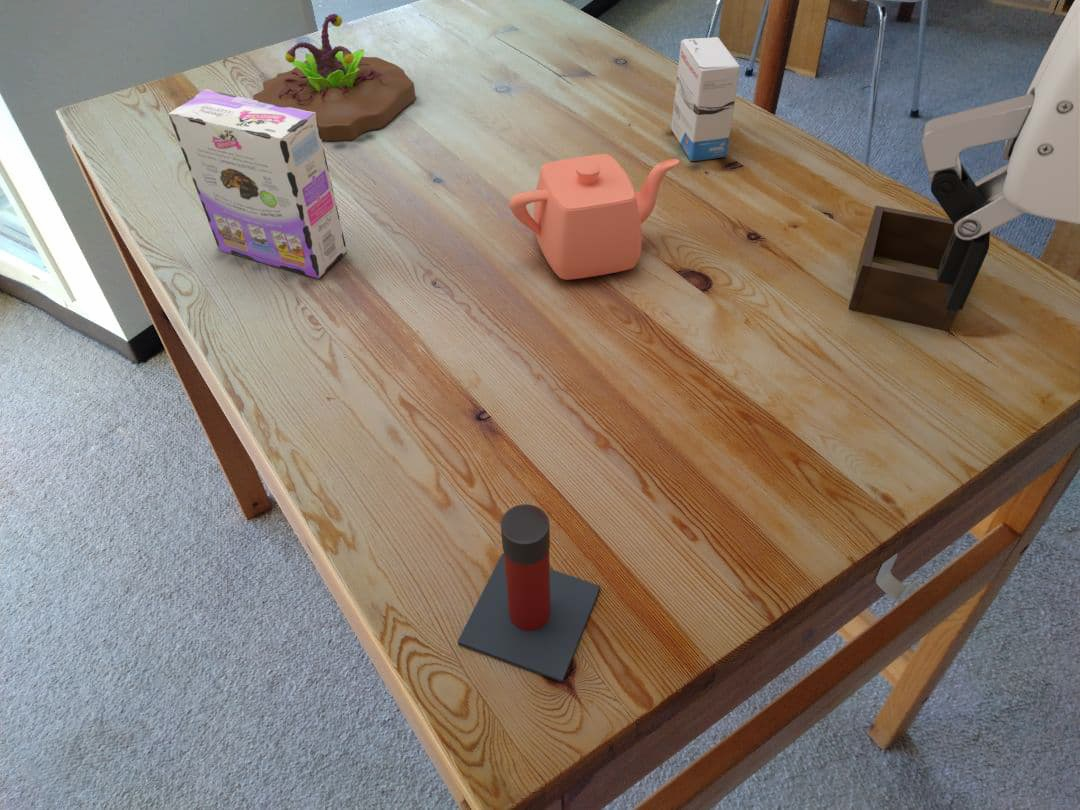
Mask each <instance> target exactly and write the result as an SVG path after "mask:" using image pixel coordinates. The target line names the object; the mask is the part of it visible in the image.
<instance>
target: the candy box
mask: <svg viewBox="0 0 1080 810" xmlns="http://www.w3.org/2000/svg"><path fill="white" fill-rule="evenodd" d="M168 117H169V119H170V122H171V124H172V128H173V131H174V132H175V137H176V138H177V140H178V141H177V142H178V144H179V146H180V149H181V151H182V154H183V157H184V160H185V162H186V165H187V168H188V171H189V173H190V176H191V179H192V182H193V185H194V187H195V189H196V192H197V195H198V198H199V200H200V203H201V205H202V208H203V210H204V213H205V216H206V218H207V222H208V224H209V227H210V230H211V232H212V235H213V237H214V238H213V239H214V241H215V244H216V247H217V249H218V250H219V251H221V252H223V253H227V254H230V255H234V256H239V257H241V258H244V259H247V260H251V261H256V262H259V263H262V264H265V265H269V266H273V267H277V268H280V269H283V270H287V271H289V272H290V271H291V272H295V273H298V274H301V275H304V276H308V277H312V278H315V279H320V278H321V277H322V276H323V275H324V274H325V273H326V272H327V271H328V270H329V269H330V268H331V267H332V266H334V264H335V263H337V262H338V261H339V260H340V259H341V258H342V257H343V256H344V255H345V254H346V253H347V251H348V249H347V244H346V241H345V237H344V236H345V235H344V232H343V226H342V223H341V219H340V215H339V210H338V205H337V201H336V197H335V192H334V188H333V184H332V179H331V174H330V170H329V165H328V162H327V156H326V152H325V148H324V144H323V140H322V139H321V135H320V130H319V126H318V122H317V117H316V113H315V112H310V111H305V110H300V109H295V108H290V107H285V106H280V105H275V104H270V103H266V102H261V101H257V100H253V98H248V97H247V98H246V97H244V96H243V97H242V96H238V95H232V94H228V93H224V92H220V91H215V90H211V89H207V88H204V89H203V90H202V91H200V92H199V93H197V94H195V95H194V96H193V97H191V98H190V99H187V100H186V101H185V102H183V103H182V104H180V105H179V106H178V107H176V108H174V109H173V110H171V111H169V112H168Z"/></svg>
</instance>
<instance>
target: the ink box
mask: <svg viewBox="0 0 1080 810" xmlns="http://www.w3.org/2000/svg"><path fill="white" fill-rule="evenodd" d="M678 56H679V57H678V65H677V66H678V67H677V75H676V84H675V93H674V101H673V109H672V118H671V119H672V120H671V128H670V129H671V131H672V133H673V135H674V137H675V138H676V140H677V141H678V143H679V145H680V146H681V149H683V152H684V153H685V155H686V156H687V158H688V159H689V161H690V162H696V161H705V160H713V159H720V158H726V157H727V155H728V148H729V142H730V135H731V128H732V122H733V115H734V111H735V110H734V109H735V102H736V96H737V90H738V84H739V77H740V72H741V71H740V70H741V65H740V64H739V63H738V61H737V59H735V58H734V57H733V55H732V54H731V53H730V51H729V49H727V47H726V46H725V44H724V43H723V42H722V40H721V39H720V37H719V36H714V37H698V38H697V37H696V38H684V39H682V40H680V46H679V55H678Z"/></svg>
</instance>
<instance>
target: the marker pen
mask: <svg viewBox="0 0 1080 810" xmlns="http://www.w3.org/2000/svg"><path fill="white" fill-rule="evenodd" d="M550 524H551V523H550V519H549V516H548V515H547V513H546V512H545V511H544V510H543V509H542V508H540V507H539V506H536V505H534V504H529V503H528V504H527V503H526V504H525V503H524V504H517V505H515V506H512V507H510V508H509V509H508V510H507V511H506V512H505V513H504V514H503V516H502V518H501V519H500V534H501V535H500V536H501V544H502V551H503V554H504V560H505V571H506V583H507V594H508V605H509V615H510V619H511V621H512V622H513V624H514V625H515V626H517V627H518V628H520V629H522V630H527V631H532V630H536V629H539V628H541V627H542V626H544V625H545V624H546V623H547V621H548V620H549V617H550V569H551V568H550V564H551V563H550V549H551V532H550V530H551V526H550Z"/></svg>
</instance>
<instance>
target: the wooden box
mask: <svg viewBox="0 0 1080 810" xmlns="http://www.w3.org/2000/svg"><path fill="white" fill-rule="evenodd" d="M953 230H954V224H953V223H952V221H951V220H950V218H945V217H940V216H935V215H929V214H924V213H919V212H914V211H908V210H903V209H897V208H893V207H887V206H882V205H875V207H874V209H873V213H872V217H871V220H870V223H869V225H868V229H867V233H866V235H865V239H864V242H863V245H862V249H861V253H860V258H859V261H858V265H857V270H856V274H855V279H854V283H853V287H852V291H851V296H850V300H849V305H848V310H852V311H856V312H860V313H865V314H869V315H872V316H873V315H874V316H878V317H882V318H888V319H890V320H891V319H892V320H897V321H901V322H906V323H910V324H914V325H918V326H923V327H927V328H931V329H932V328H933V329H937V330H942V331H948V332H950V331H951V330H952V328H953V325H954V322H955V321H956V318H957V316H958V314H959V311H960V310H959V309H958V310H957V312H955V311H950V310H946V309H945V304H946V295H947V286H948V284H944V283H939V282H937V274H932V273H927V272H923V271H917V270H913V269H907V268H902V267H898V266H894V265H888V264H883V263H878V262H873V261H874V260H873V258H874V256H876V257H881V258H886V259H891V260H896V261H901V262H905V263H911V264H916V265H920V266H925V267H930V268H935V269H939V266H940V263H941V260H942V257H943V255H944V252H945V250H946V247H947V245H948V242H949V240H950V237H951V235H952V232H953Z"/></svg>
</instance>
